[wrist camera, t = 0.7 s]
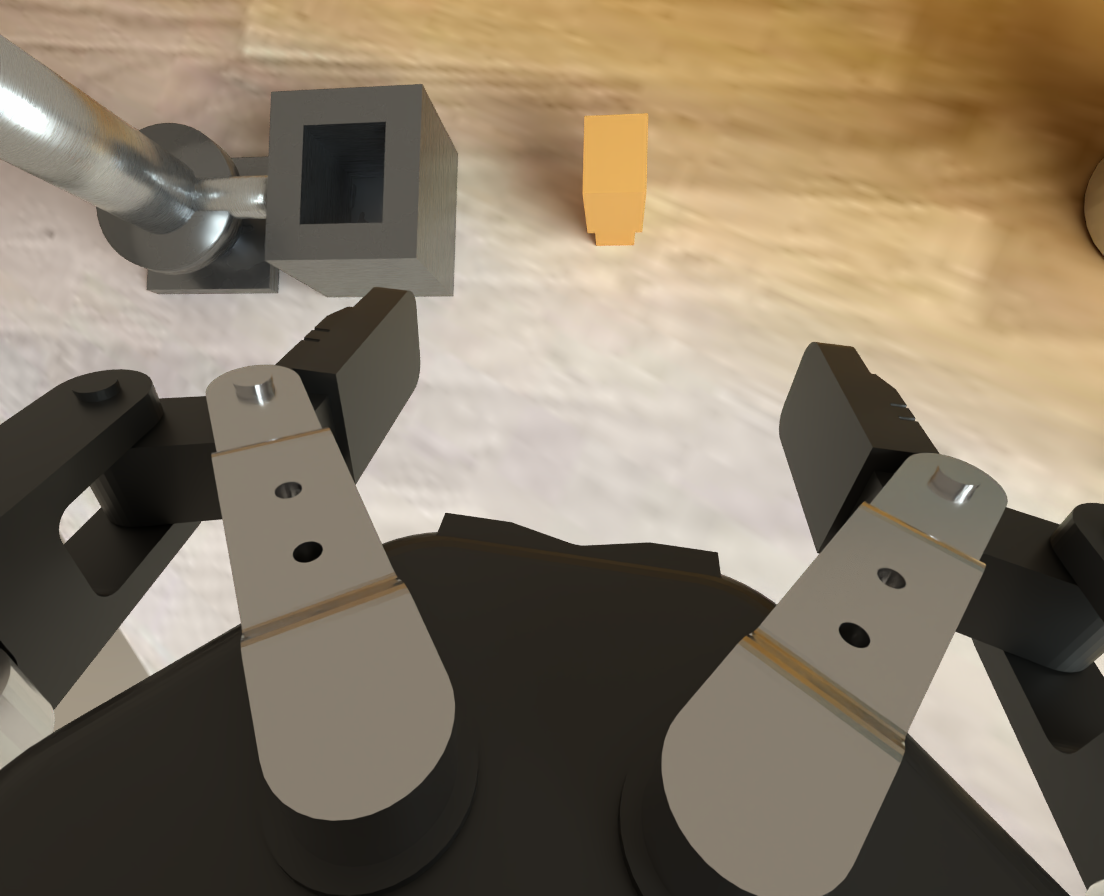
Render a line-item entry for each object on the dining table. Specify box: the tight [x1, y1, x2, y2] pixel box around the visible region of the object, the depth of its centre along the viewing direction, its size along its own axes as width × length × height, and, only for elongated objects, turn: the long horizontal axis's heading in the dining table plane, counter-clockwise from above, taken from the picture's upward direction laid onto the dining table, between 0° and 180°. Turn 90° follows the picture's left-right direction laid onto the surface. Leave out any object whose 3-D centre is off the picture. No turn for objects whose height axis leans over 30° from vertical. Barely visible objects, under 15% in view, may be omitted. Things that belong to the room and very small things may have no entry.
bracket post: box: [0, 35, 458, 297], centre depth 30 cm, size 21×10×18 cm, turn 89°
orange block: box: [583, 113, 648, 246], centre depth 33 cm, size 3×4×8 cm
